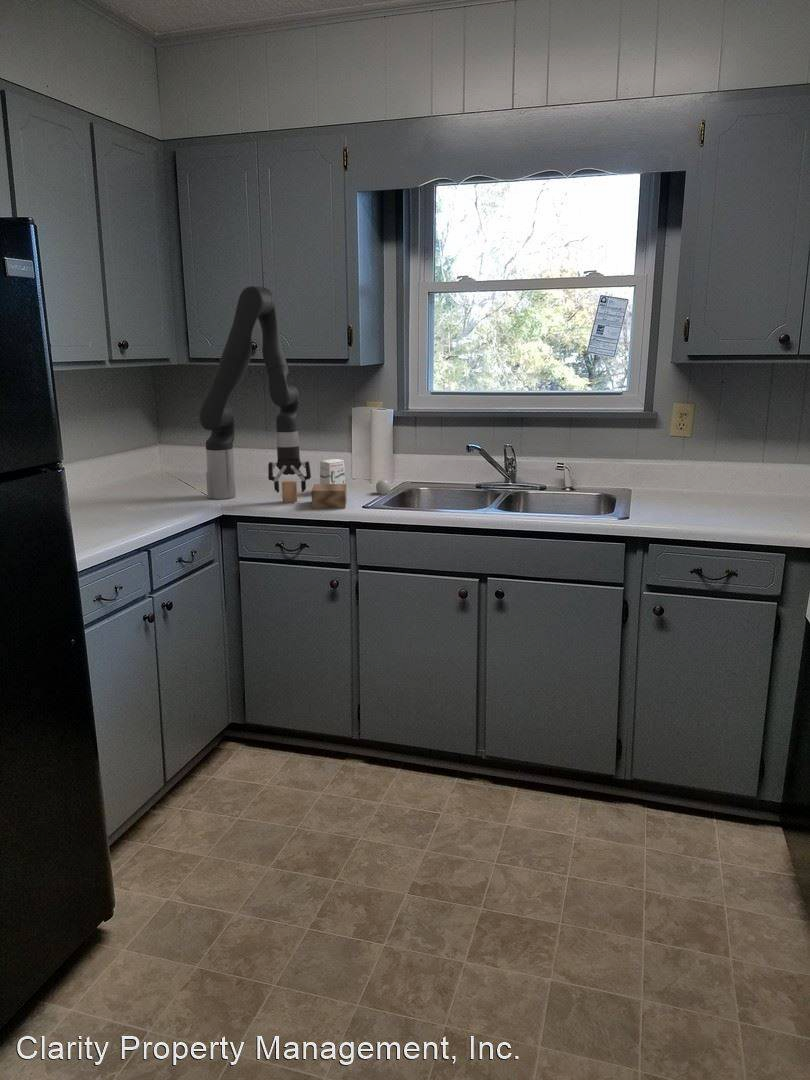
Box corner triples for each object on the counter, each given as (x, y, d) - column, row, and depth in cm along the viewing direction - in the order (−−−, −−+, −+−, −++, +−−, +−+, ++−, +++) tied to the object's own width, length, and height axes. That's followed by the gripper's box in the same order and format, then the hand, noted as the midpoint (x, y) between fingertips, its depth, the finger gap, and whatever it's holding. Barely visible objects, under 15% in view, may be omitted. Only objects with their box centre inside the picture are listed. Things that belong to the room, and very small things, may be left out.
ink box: (330, 495, 286) (329, 462, 283) (319, 493, 289) (318, 461, 286) (346, 491, 293) (345, 459, 290) (335, 489, 296) (334, 458, 293)
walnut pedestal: (312, 508, 264) (311, 491, 262) (314, 501, 276) (314, 484, 274) (345, 508, 264) (344, 490, 263) (346, 501, 276) (346, 483, 274)
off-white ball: (373, 489, 285) (373, 487, 290) (384, 497, 286) (384, 495, 291) (381, 478, 284) (381, 476, 289) (392, 486, 285) (392, 484, 290)
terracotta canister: (281, 503, 272) (280, 483, 270) (283, 500, 277) (282, 480, 275) (296, 503, 272) (295, 483, 271) (297, 500, 277) (297, 480, 275)
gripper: (265, 446, 266) (268, 494, 270) (308, 445, 266) (310, 493, 270) (268, 443, 273) (271, 490, 277) (309, 442, 273) (312, 489, 277)
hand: (290, 491), depth 274 cm, fingers open, 8 cm apart
